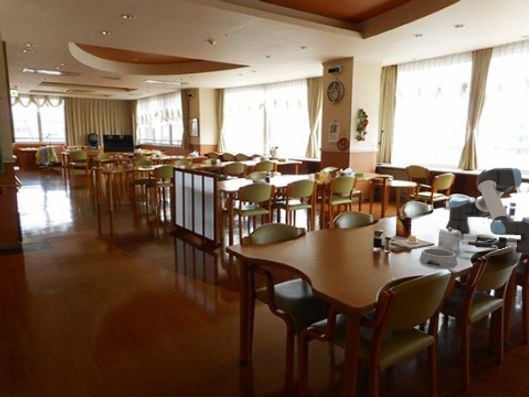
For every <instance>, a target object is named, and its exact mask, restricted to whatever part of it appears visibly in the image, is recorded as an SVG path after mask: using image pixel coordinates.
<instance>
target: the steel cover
mask: <svg viewBox="0 0 529 397" xmlns="http://www.w3.org/2000/svg"><path fill="white" fill-rule="evenodd" d="M461 236H462V234H461V232H460V231H458V230H454V229H452V228H448V229H446V228H441V229H439V231H438V241H437V243H438V244H437V246H438V249H444V250H448V251H451V252H457V251H459V250H460V248H461V239H462V238H461Z"/></svg>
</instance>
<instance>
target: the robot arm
mask: <svg viewBox="0 0 529 397" xmlns="http://www.w3.org/2000/svg"><path fill="white" fill-rule="evenodd" d="M476 178H477V179H476V187H477V189H478V191H479V192H481V196H479V197H477V198H476V199H475V200H470V198H466V197H460V198H453V199H451V200H450V204H449V213H448V214H449V217H448V221H447V224H446V226H445V229H448V228H452V229H454V230H458V231H460V232H461V235H463V239H461V242H460V245H463V246H472V247H475V248H482V249H483V248H484V249H485V248H488V249H496V248H497V250H498V249H502V248H505V247H509V246H512V247H513V251H514V252H513V253H519V254H524V255H529V216H524V217H522V219H521V220H510V219H509V216H508V214H507V211H506V209H505V206H504V204H503V201H502V199H501V196H503V194H504V193H508V192H509V191H511V190H512V188H515V189H516V188H520V187H521V185H522V180H523V179H522V178H523V177H522V172H521V170H520V169H519V168H518V167H489V168H485V169H484V170H482V171H481V172H479V174H478V176H477V177H476ZM469 218H484V219H486V218H491V220H492V221H491V222H490V223H489V224H490V225H489V228H490V232H491V234H493V235H497V236H499V235H500V236H499V237H498V238H497V237H496V238H495V237H489V236H485V235H471V234H470V232H471V228H470V224H469V222H468V221H469V220H468V219H469ZM505 236H520V238H513V237H505ZM516 245H517V247H516Z"/></svg>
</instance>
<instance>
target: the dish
mask: <svg viewBox="0 0 529 397" xmlns="http://www.w3.org/2000/svg"><path fill="white" fill-rule="evenodd" d="M407 239H408V240H406V242H407V243H410V244H418V241H417V240H416V239H417V237H416V236H415V235H414V234H411V235H410V236H409V237H407Z"/></svg>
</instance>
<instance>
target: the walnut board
mask: <svg viewBox="0 0 529 397" xmlns="http://www.w3.org/2000/svg"><path fill="white" fill-rule="evenodd" d="M406 240H408V238H404V239H397V240H392V241H391V242H392V243H395V244H399V245H402V246H405V247H407V248H406V249H409V250H414V249H415V250H416V249H420V248H421V249H422V248H425V247H427V248H428V247H433V246H435V243H434V242H430V241H427V240H422V239H420V238H416V240H417V241H418V244H410V243H407V242H406Z"/></svg>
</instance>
